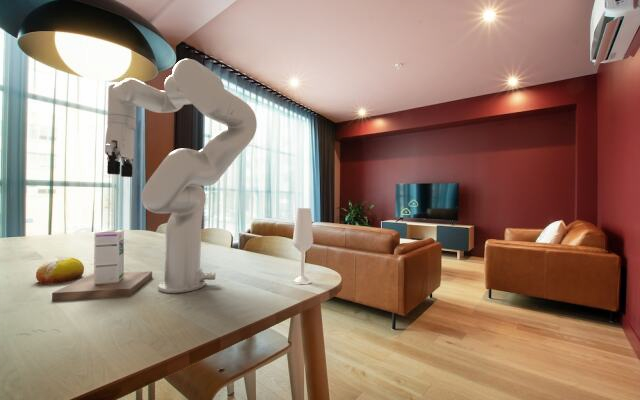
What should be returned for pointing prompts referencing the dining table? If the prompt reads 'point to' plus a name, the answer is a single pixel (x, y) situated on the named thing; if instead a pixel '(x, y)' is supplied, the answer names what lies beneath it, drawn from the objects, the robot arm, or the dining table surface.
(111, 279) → the syrup box
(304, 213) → the champagne flute
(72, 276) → the fruit
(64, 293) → the walnut board
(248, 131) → the robot arm
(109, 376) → the dining table surface
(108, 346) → the dining table surface
